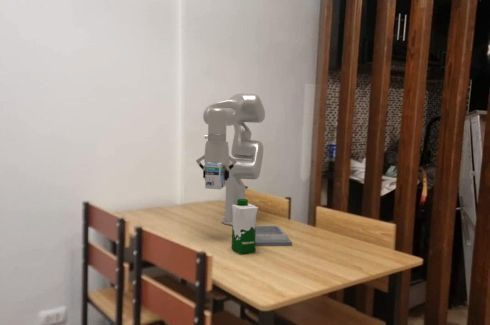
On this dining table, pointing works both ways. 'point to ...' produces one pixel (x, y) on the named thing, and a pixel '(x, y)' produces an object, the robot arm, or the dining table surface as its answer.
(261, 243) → the dock board
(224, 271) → the dining table surface
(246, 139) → the robot arm
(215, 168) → the light bulb box
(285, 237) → the aluminium frame
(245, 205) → the milk carton
